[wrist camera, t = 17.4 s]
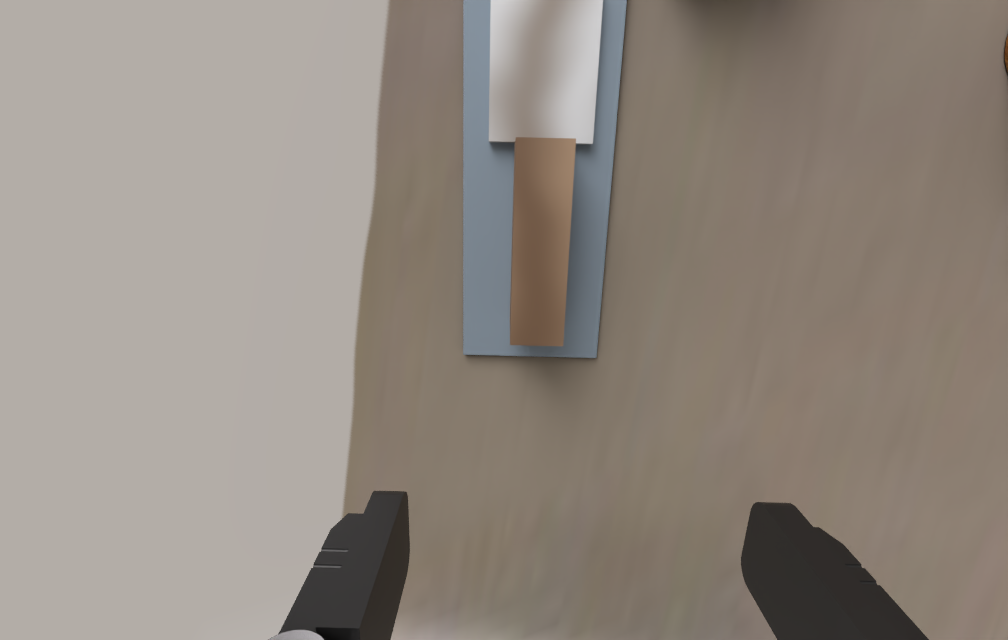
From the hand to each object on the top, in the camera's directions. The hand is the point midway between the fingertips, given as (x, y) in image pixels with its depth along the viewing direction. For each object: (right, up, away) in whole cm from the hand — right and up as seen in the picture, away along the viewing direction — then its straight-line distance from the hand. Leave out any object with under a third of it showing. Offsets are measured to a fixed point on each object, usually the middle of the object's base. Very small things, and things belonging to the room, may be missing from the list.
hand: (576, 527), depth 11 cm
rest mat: (0, +13, +19) cm, 23 cm away
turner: (0, +14, +18) cm, 23 cm away
